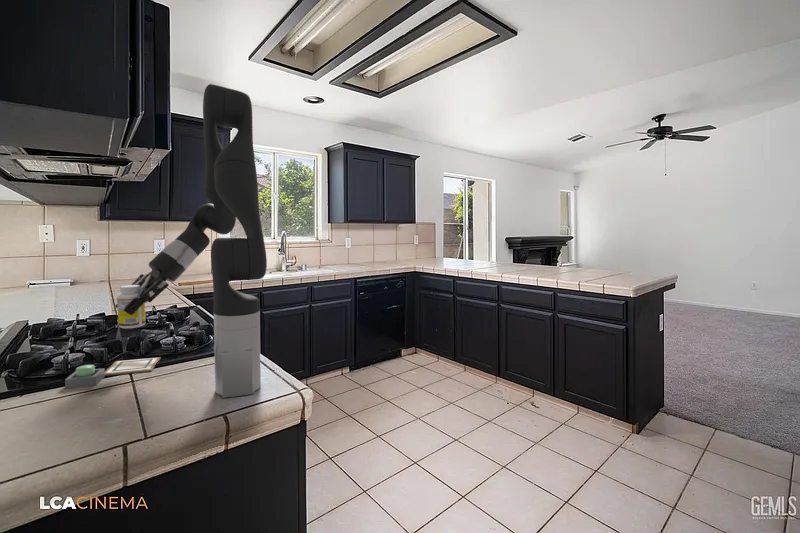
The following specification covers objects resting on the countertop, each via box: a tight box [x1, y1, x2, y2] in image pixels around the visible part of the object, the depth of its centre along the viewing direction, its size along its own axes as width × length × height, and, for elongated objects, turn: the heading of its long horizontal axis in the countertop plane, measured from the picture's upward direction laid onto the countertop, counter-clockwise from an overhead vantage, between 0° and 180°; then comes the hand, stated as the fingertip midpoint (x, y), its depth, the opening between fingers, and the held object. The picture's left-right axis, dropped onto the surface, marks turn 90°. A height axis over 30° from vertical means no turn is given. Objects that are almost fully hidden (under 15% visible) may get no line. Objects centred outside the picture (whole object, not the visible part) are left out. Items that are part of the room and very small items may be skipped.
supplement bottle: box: [116, 284, 147, 329], centre depth 92 cm, size 6×6×10 cm
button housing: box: [64, 368, 106, 389], centre depth 83 cm, size 5×5×2 cm
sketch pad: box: [105, 356, 162, 377], centre depth 93 cm, size 10×10×1 cm
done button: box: [75, 364, 96, 377], centre depth 83 cm, size 3×3×2 cm
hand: (123, 310), depth 91 cm, fingers closed on supplement bottle, 5 cm apart
